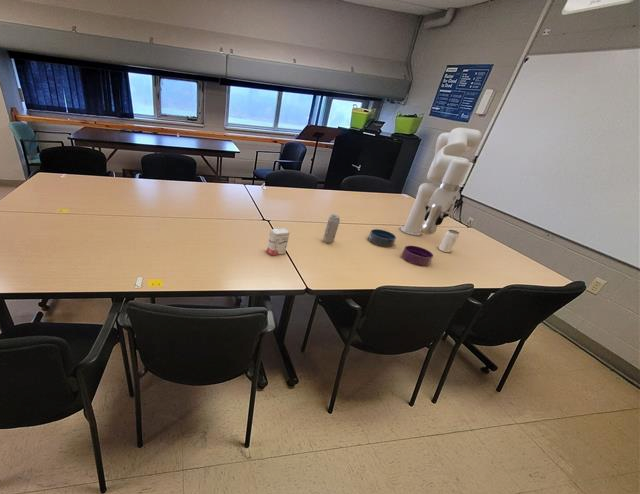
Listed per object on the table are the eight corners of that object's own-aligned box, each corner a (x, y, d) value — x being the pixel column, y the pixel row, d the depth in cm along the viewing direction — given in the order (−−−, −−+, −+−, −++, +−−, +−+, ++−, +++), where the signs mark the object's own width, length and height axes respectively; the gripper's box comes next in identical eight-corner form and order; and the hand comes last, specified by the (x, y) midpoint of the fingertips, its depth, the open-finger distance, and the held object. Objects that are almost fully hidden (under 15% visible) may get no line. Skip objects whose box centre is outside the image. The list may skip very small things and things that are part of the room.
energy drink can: (333, 244, 176) (341, 219, 167) (322, 242, 176) (329, 217, 168) (332, 240, 181) (340, 215, 173) (322, 238, 181) (329, 213, 173)
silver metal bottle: (435, 237, 160) (454, 199, 150) (421, 235, 161) (439, 196, 150) (431, 232, 166) (449, 195, 155) (418, 230, 167) (435, 193, 156)
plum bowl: (411, 251, 180) (414, 244, 177) (434, 263, 170) (438, 255, 167) (396, 255, 173) (399, 247, 170) (419, 268, 163) (423, 259, 160)
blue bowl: (378, 235, 195) (380, 228, 193) (397, 245, 186) (401, 237, 183) (363, 238, 188) (365, 230, 186) (382, 248, 179) (385, 240, 176)
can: (448, 249, 190) (458, 230, 183) (451, 253, 184) (461, 234, 178) (437, 246, 191) (446, 228, 185) (439, 250, 186) (448, 232, 179)
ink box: (271, 255, 155) (275, 233, 149) (266, 251, 159) (270, 229, 152) (285, 253, 159) (290, 232, 153) (280, 249, 163) (284, 228, 156)
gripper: (470, 192, 146) (452, 228, 156) (435, 181, 158) (420, 215, 168) (462, 193, 143) (444, 230, 152) (427, 182, 154) (412, 217, 164)
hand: (431, 222), depth 160 cm, fingers closed on silver metal bottle, 5 cm apart
